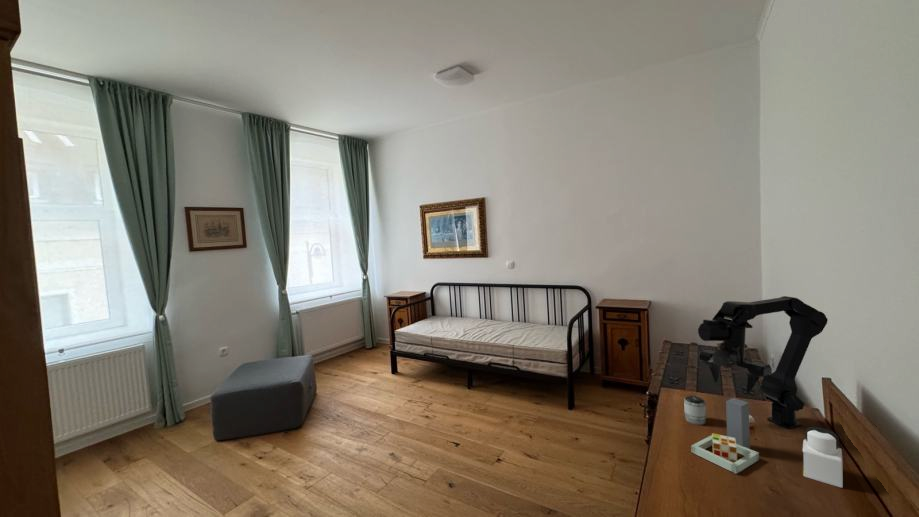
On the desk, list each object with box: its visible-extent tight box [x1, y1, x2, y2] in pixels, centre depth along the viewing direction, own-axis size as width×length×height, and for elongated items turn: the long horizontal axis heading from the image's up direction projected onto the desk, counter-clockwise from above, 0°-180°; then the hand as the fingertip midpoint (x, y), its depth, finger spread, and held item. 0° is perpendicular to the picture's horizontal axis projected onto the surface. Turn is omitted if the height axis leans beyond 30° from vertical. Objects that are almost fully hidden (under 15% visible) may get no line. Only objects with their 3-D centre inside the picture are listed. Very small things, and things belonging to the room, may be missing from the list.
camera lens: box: [683, 395, 707, 426], centre depth 124 cm, size 6×6×8 cm
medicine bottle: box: [802, 426, 844, 489], centre depth 94 cm, size 7×7×12 cm
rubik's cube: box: [711, 432, 738, 463], centre depth 103 cm, size 6×6×6 cm
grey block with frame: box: [690, 397, 760, 475], centre depth 105 cm, size 15×12×14 cm
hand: (731, 387), depth 118 cm, fingers open, 9 cm apart
